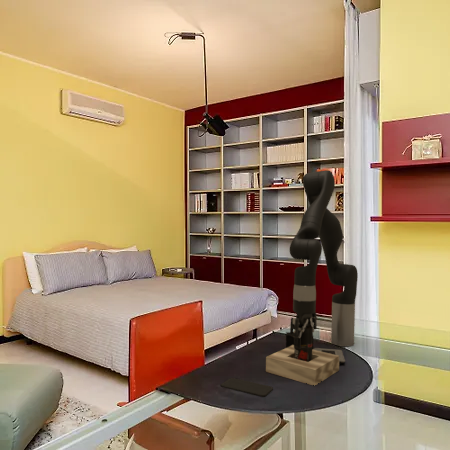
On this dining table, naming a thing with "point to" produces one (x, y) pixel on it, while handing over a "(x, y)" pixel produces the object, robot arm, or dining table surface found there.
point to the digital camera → (290, 340)
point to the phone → (247, 387)
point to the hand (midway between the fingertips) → (303, 345)
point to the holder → (302, 366)
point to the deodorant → (305, 345)
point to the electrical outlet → (332, 351)
